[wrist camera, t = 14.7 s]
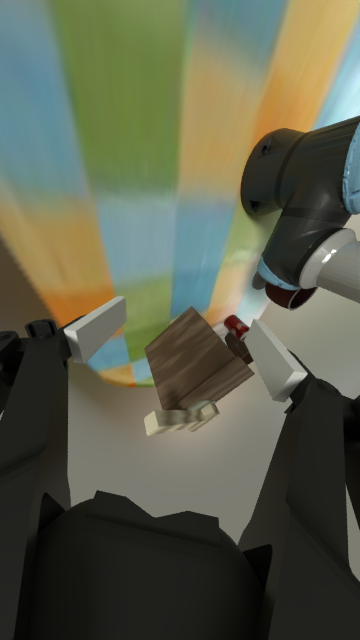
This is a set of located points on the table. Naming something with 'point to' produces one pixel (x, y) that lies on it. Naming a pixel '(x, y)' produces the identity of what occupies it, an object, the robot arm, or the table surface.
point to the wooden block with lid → (193, 364)
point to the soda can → (236, 327)
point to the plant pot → (238, 348)
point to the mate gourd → (284, 293)
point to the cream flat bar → (179, 419)
